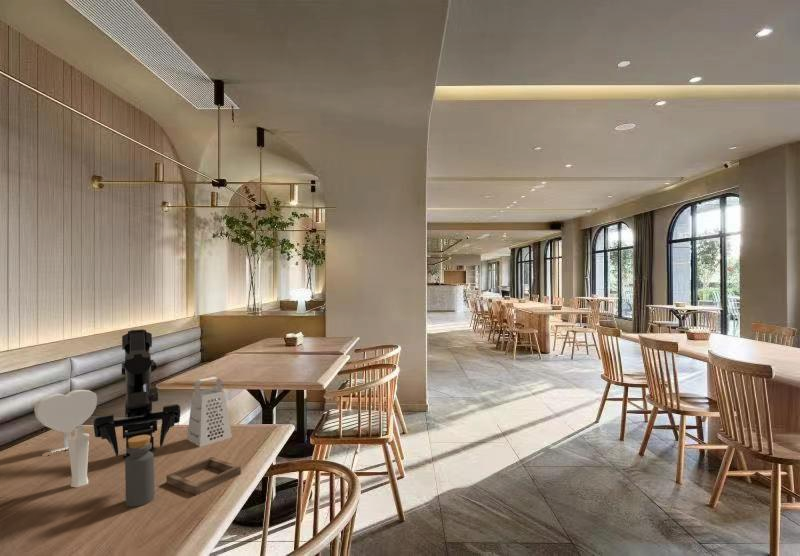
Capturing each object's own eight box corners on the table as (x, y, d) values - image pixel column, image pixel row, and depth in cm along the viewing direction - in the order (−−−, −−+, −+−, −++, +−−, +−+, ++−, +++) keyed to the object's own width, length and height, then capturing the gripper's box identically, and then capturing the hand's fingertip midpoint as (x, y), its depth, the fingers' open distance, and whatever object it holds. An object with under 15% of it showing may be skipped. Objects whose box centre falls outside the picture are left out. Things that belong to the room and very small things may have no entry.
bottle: (141, 508, 96) (139, 443, 96) (119, 506, 97) (118, 442, 97) (160, 495, 102) (159, 434, 102) (140, 493, 103) (138, 433, 103)
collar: (166, 483, 108) (166, 475, 108) (211, 464, 119) (211, 457, 119) (195, 495, 101) (195, 487, 101) (240, 473, 112) (240, 466, 112)
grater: (231, 437, 140) (230, 378, 140) (200, 447, 132) (198, 384, 132) (217, 430, 147) (216, 374, 147) (186, 439, 139) (185, 379, 139)
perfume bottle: (95, 480, 110) (94, 424, 111) (78, 488, 106) (77, 430, 106) (83, 478, 112) (82, 423, 112) (66, 486, 108) (65, 428, 108)
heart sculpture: (93, 439, 142) (92, 386, 142) (99, 442, 138) (98, 388, 139) (34, 455, 129) (33, 397, 129) (38, 458, 126) (37, 399, 126)
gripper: (93, 384, 102) (89, 443, 93) (179, 373, 112) (183, 425, 103) (96, 409, 109) (93, 466, 99) (177, 396, 119) (181, 447, 109)
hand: (139, 450), depth 102 cm, fingers open, 9 cm apart
